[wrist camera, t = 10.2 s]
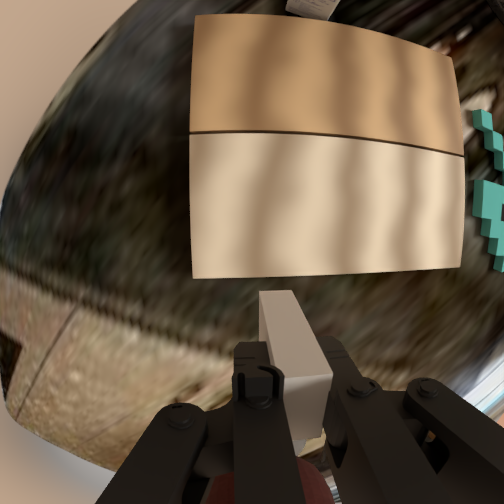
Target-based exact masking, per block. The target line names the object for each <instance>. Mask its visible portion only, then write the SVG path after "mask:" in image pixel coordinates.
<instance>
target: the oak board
mask: <svg viewBox="0 0 504 504" xmlns="http://www.w3.org/2000/svg"><path fill="white" fill-rule="evenodd" d="M190 132H191V134H192V135H197V134H226V133H267V134H296V135H313V136H327V137H338V138H349V139H358V140H366V141H374V142H382V143H389V144H395V145H402V146H408V147H414V148H419V149H424V150H430V151H435V152H440V153H444V154H449V155H453V156H460V155H464V148H463V132H462V121H461V112H460V104H459V96H458V90H457V84H456V78H455V72H454V67H453V63H452V58H450V57H448V56H446V55H443V54H441V53H438V52H436V51H433V50H431V49H428V48H426V47H423V46H420V45H417V44H414V43H412V42H409V41H406V40H402V39H399V38H396V37H393V36H389V35H386V34H382V33H379V32H375V31H371V30H367V29H363V28H358V27H354V26H349V25H344V24H339V23H334V22H328V21H322V20H315V19H308V18H300V17H290V16H279V15H262V14H211V15H195V26H194V39H193V55H192V73H191V99H190Z"/></svg>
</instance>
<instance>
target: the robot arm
mask: <svg viewBox="0 0 504 504" xmlns="http://www.w3.org/2000/svg"><path fill="white" fill-rule="evenodd" d="M487 2H488V4H489V5H490V7H491V8H492V10H493V11H494V13H495V14H496V15H497V17H498V18H499V19H500V21H501V22H502V23H503V24H504V0H487ZM232 393H233V397H232V399H231V400H230V401H229V402H228V403H227V404H226V405H224V406H222V407H221V408H218V409H215V410H211V411H206V412H204V411H203V410H202V409H201V408H199V407H198V406H196V405H193V404H190V403H174V404H170V405H168V406H165V407H163V408H162V409H161V410H160V411H159V412H158V413H157V414H156V415H155V417H154V418H153V420H152V421H151V423H150V424H149V426H148V427H147V429H146V430H145V432H144V433H143V434H142V436H141V437H140V439H139V440H138V442H137V443H136V445H135V446H134V448H133V449H132V451H131V452H130V453H129V455H128V456H127V458H126V459H125V461H124V462H123V464H122V465H121V467H120V468H119V469H118V471H117V472H116V474H115V475H114V477H113V478H112V480H111V481H110V483H109V484H108V485H107V487H106V488H105V490H104V491H103V493H102V494H101V496H100V497H99V498H98V500H97V501H96V503H95V504H205V502H206V500H207V497H208V495H209V492H210V489H211V487H212V484H213V482H214V479H215V476H218V475H222V474H226V473H230V472H234V496H235V504H306V499H305V495H304V491H303V486H302V482H301V477H300V473H299V468H298V464H297V459H296V455H295V451H294V446H293V442H292V441H294V440H303V439H311V438H319V437H321V433H322V429H323V428H324V431H325V434H326V440H325V444H324V448H323V452H322V456H321V462H325V459H326V455H327V458H328V461H329V464H330V467H331V471H332V474H333V477H334V480H335V483H336V486H337V489H338V493H339V496H340V499H341V502H342V504H504V428H503V427H502V426H500V425H499V424H497V423H496V422H495V421H493V420H492V419H490V418H489V417H488V416H486V415H485V414H484V413H482V412H481V411H479V410H478V409H477V408H475V407H474V406H472V405H471V404H470V403H468V402H467V401H466V400H464V399H463V398H461V397H460V396H459V395H457V394H456V393H454V392H453V391H452V390H450V389H449V388H448V387H446V386H445V385H443V384H442V383H441V382H439V381H437V380H435V379H431V378H417V379H414V380H412V381H411V382H410V383H409V384H408V386H407V389H406V391H386V390H383V389H382V388H381V386H380V385H379V384H378V383H377V382H376V381H374V380H372V379H370V378H366V377H362V375H361V374H360V372H359V370H358V369H357V367H356V366H355V364H354V362H353V361H352V359H351V358H350V357H349V354H348V353H347V351H345V348H344V346H343V345H342V343H341V342H340V341H338V340H337V339H335V338H334V337H332V336H325V337H315V336H314V334H313V332H312V330H311V328H310V326H309V324H308V322H307V320H306V318H305V316H304V314H303V312H302V310H301V308H300V306H299V304H298V302H297V300H296V298H295V296H294V294H293V292H292V290H280V291H259V341H257V342H239V343H238V345H237V346H236V347H235V348H234V373H233V376H232ZM430 431H431V432H432V433H433V434H434V435H435V438H434V439H430V438H428V437H427V436H428V434H429V432H430Z"/></svg>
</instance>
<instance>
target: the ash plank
mask: <svg viewBox="0 0 504 504" xmlns="http://www.w3.org/2000/svg"><path fill="white" fill-rule="evenodd" d="M464 209H465V171H464V158H462V157H458V156H453V155H449V154H444V153H440V152H435V151H430V150H424V149H419V148H414V147H408V146H402V145H395V144H389V143H382V142H374V141H366V140H358V139H349V138H338V137H327V136H313V135H296V134H267V133H226V134H197V135H190V224H191V250H192V270H193V278H245V277H280V276H308V275H333V274H354V273H374V272H392V271H409V270H424V269H439V268H453V267H460V262H461V253H462V243H463V230H464Z"/></svg>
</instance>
